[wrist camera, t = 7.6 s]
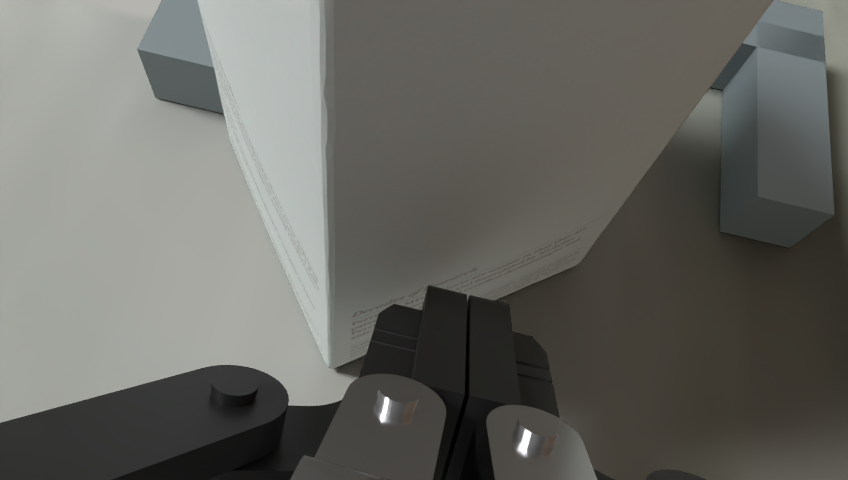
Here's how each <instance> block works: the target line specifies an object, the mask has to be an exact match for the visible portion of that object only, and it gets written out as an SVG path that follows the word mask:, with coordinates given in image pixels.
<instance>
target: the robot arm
mask: <svg viewBox="0 0 848 480" xmlns="http://www.w3.org/2000/svg"><path fill="white" fill-rule="evenodd" d="M288 402H289V398H288V394H287V391H286V389H285V388H284V386H283V385H282V384H281V383H280V382H279V381H278V380H276V379H275V378H273V377H272V376H270V375H268V374H266V373H264V372H262V371H259V370H256V369H253V368H249V367H243V366H235V365H218V366H210V367H205V368H201V369H198V370H194V371H190V372H187V373H183V374H179V375H176V376H172V377H168V378H164V379H161V380H157V381H153V382H150V383H146V384H142V385H139V386H135V387H131V388H128V389H124V390H120V391H116V392H113V393H109V394H105V395H102V396H98V397H94V398H91V399H87V400H83V401H80V402H76V403H72V404H69V405H65V406H61V407H57V408H54V409H50V410H46V411H43V412H39V413H35V414H32V415H28V416H24V417H21V418H17V419H13V420H9V421H6V422H2V423H0V480H614V479H612V478H609V477H607V476H605V475H603V474H601V473H600V472H598V471H596V470H595V469H593V467H592V464H591V461H590V458H589V456H588V453H587V450H586V447H585V445H584V442H583V440H582V438H581V437H580V436H579V434H578V433H577V432H576V431H575V430H574V429H573V428H572V427H571V426H570V425H568V424H567V423H566V422H564V421H563V420H561V419H560V417H559V413H558V408H557V403H556V398H555V393H554V388H553V385H552V379H551V374H550V372H549V364H548V359H547V354H546V352H545V351H544V350H543V349H542V348H541V346H540V345H539V344H538V343H537V342H536V341H535V339H534V338H533V337H532V336H527V335H523V334H519V333H515V332H512V324H511V316H510V307H509V304H506V303H502V302H498V301H493V300H489V299H485V298H481V297H477V296H472V295H469V297H468V300H467V294H464V293H459V292H455V291H451V290H447V289H443V288H439V287H434V286H430V285H428V287H427V290H426V294H425V298H424V302H423V306H422V310H418V309H414V308H410V307H406V306H401V305H397V304H393V305H391V306H389V307H388V308H386V309H385V310H383V311H381V312H380V313H379V314H378V317H377V321H376V324H375V327H374V331H373V334H372V337H371V341H370V344H369V347H368V350H367V353H366V357H365V360H364V363H363V367H362V370H361V373H360V376H359V378H358V379H356V380H355V381H353V382H352V383H351V384H350V386H349V387H348V389H347V391H346V393H345V395H344V397H343V399H342V400H341V401H338V402H335V403H332V404H327V405H321V406H288ZM646 480H705V479H703V478H700V477H698V476H695V475H692V474H689V473H686V472H681V471H676V470H660V471H656V472H654V473H652V474H650V475H649V476H648V477H647V479H646Z"/></svg>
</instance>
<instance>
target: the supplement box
mask: <svg viewBox="0 0 848 480" xmlns="http://www.w3.org/2000/svg"><path fill="white" fill-rule="evenodd" d="M197 1H198V5H199V9H200V13H201V17H202V21H203V25H204V29H205V33H206V37H207V41H208V45H209V49H210V53H211V57H212V62H213V66H214V70H215V74H216V79H217V84H218V89H219V94H220V98H221V102H222V107H223V111H224V116H225V120H226V124H227V128H228V133H229V137H230V140H231V143H232V146H233V148H234V151H235V153H236V156H237V158H238V161H239V164H240V166H241V169H242V171H243V174H244V176H245V179H246V181H247V183H248V186H249V188H250V191H251V193H252V195H253V198H254V200H255V203H256V205H257V207H258V210H259V212H260V214H261V217H262V219H263V222H264V224H265V226H266V229H267V231H268V234H269V236H270V238H271V241H272V243H273V245H274V247H275V250H276V252H277V254H278V256H279V259H280V261H281V263H282V265H283V268H284V270H285V272H286V274H287V277H288V279H289V281H290V283H291V286H292V288H293V290H294V293H295V295H296V297H297V299H298V302H299V304H300V306H301V309H302V311H303V313H304V315H305V318H306V320H307V322H308V325H309V327H310V329H311V331H312V334H313V336H314V338H315V340H316V342H317V345H318V347H319V349H320V351H321V353H322V356H323V358H324V361H325V363H326V365H327V367H328V368H331V369H333V368H336V367H338V366H341V365H343V364H346V363H348V362H351V361H353V360H355V359H358V358H360V357H362V356H364V355H366V353H367V350H368V347H369V344H370V341H371V337H372V334H373V331H374V327H375V324H376V321H377V317H378V314H379V313H380V312H381V311H383V310H385V309H386V308H388V307H389V306H391V305H393V304H397V305H401V306H406V307H410V308H414V309H418V310H422V306H423V302H424V298H425V294H426V290H427V287H428V285H430V286H434V287H439V288H443V289H447V290H451V291H455V292H459V293H464V294H467V300H468V297H469V295H472V296H477V297H481V298H485V299H489V300H493V301H494V300H496V299H498V298H501V297H503V296H506V295H508V294H511V293H513V292H515V291H518V290H520V289H522V288H524V287H526V286H529V285H531V284H533V283H536V282H538V281H541V280H543V279H546V278H548V277H550V276H553V275H555V274H557V273H560V272H562V271H564V270H566V269H569V268H571V267H574V266H576V265H578V264H579V263H580V262H581V261H582V260H583V258H584V257H585V256H586V254H587V253H588V252H589V250H590V249H591V247H592V246H593V244H594V243H595V242H596V240H597V239H598V237H599V236H600V235H601V233H602V232H603V231H604V229H605V228H606V227H607V226H608V224H609V223H610V222H611V220H612V219H613V217H614V216H615V215H616V213H617V212H618V211H619V209H620V208H621V207H622V205H623V204H624V203H625V201H626V200H627V198H628V197H629V196H630V195H631V193H632V192H633V190H634V189H635V187H636V186H637V184H638V183H639V182H640V180H641V179H642V178H643V176H644V175H645V174H646V172H647V171H648V170H649V168H650V167H651V166H652V164H653V163H654V162H655V160H656V159H657V158H658V156H659V155H660V154H661V152H662V151H663V150H664V148H665V147H666V146H667V144H668V143H669V141H670V140H671V139H672V137H673V136H674V134H675V133H676V131H677V130H678V129H679V127H680V126H681V125H682V123H683V122H684V121H685V120H686V118H687V117H688V116H689V114H690V113H691V112H692V110H693V109H694V108H695V106H696V105H697V104H698V102H699V101H700V100H701V98H702V97H703V96H704V94H705V93H706V92H707V90H708V89H709V88H710V87H711V85H712V84H713V83H714V81H715V80H716V79H717V77H718V76H719V74H720V73H721V72H722V70H723V69H724V67H725V66H726V65H727V63H728V62H729V61H730V59H731V58H732V57H733V55H734V54H735V52H736V51H737V50H738V48H739V47H740V46H741V44H742V43H743V42H744V40H745V39H746V37H747V36H748V35H749V33H750V32H751V31H752V29H753V28H754V26H755V25H756V24H757V22H758V21H759V19H760V18H761V17H762V15H763V14H764V13H765V11H766V10H767V9H768V7H769V6H770V5H771V4H772V2H773V1H774V0H197Z"/></svg>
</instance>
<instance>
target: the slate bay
mask: <svg viewBox="0 0 848 480" xmlns="http://www.w3.org/2000/svg"><path fill="white" fill-rule="evenodd" d="M137 50H138V52H139V55H140V58H141V60H142V63H143V66H144V68H145V71H146V74H147V76H148V79H149V82H150V84H151V87H152V90H153V92H154V95H155V98H159V99H163V100H168V101H172V102H176V103H180V104H184V105H189V106H193V107H197V108H201V109H206V110H210V111H214V112H218V113H222V114H224V111H223V107H222V102H221V98H220V94H219V89H218V84H217V79H216V74H215V70H214V66H213V62H212V57H211V53H210V49H209V45H208V41H207V37H206V33H205V29H204V25H203V21H202V17H201V13H200V9H199V5H198V1H197V0H162V1H161V3H160V5H159V7H158V9H157V11H156V13H155V15H154V17H153V19H152V21H151V23H150V25H149V27H148V29H147V31H146V33H145V35H144V37H143V39H142V41H141V43H140V45H139V47H138V49H137ZM711 88H716V89H720V90H723V102H722V146H721V190H720V232H724V233H729V234H733V235H737V236H741V237H745V238H750V239H754V240H758V241H762V242H767V243H771V244H775V245H779V246H783V247H788V248H790V247H791V246H793V245H794V244H796V243H797V242H798V241H800V240H801V239H802V238H804V237H805V236H806V235H808V234H809V233H811V232H812V231H813V230H815V229H816V228H817V227H819V226H820V225H821V224H823V223H824V222H826V221H827V220H828V219H830V218H831V217H832V216H834V215H835V213H834V197H833V180H832V163H831V146H830V130H829V113H828V96H827V79H826V63H825V46H824V29H823V12H822V11H819V10H815V9H811V8H807V7H803V6H798V5H794V4H790V3H786V2H782V1H778V0H774V1H773V2H772V4H771V5H770V6H769V7H768V9H767V10H766V11H765V13H764V14H763V15H762V17H761V18H760V19H759V21H758V22H757V24H756V25H755V26H754V28H753V29H752V31H751V32H750V33H749V35H748V36H747V37H746V39H745V40H744V42H743V43H742V44H741V46H740V47H739V48H738V50H737V51H736V52H735V54H734V55H733V57H732V58H731V59H730V61H729V62H728V63H727V65H726V66H725V67H724V69H723V70H722V72H721V73H720V74H719V76H718V77H717V79H716V80H715V81H714V83H713V84H712V85H711Z"/></svg>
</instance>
